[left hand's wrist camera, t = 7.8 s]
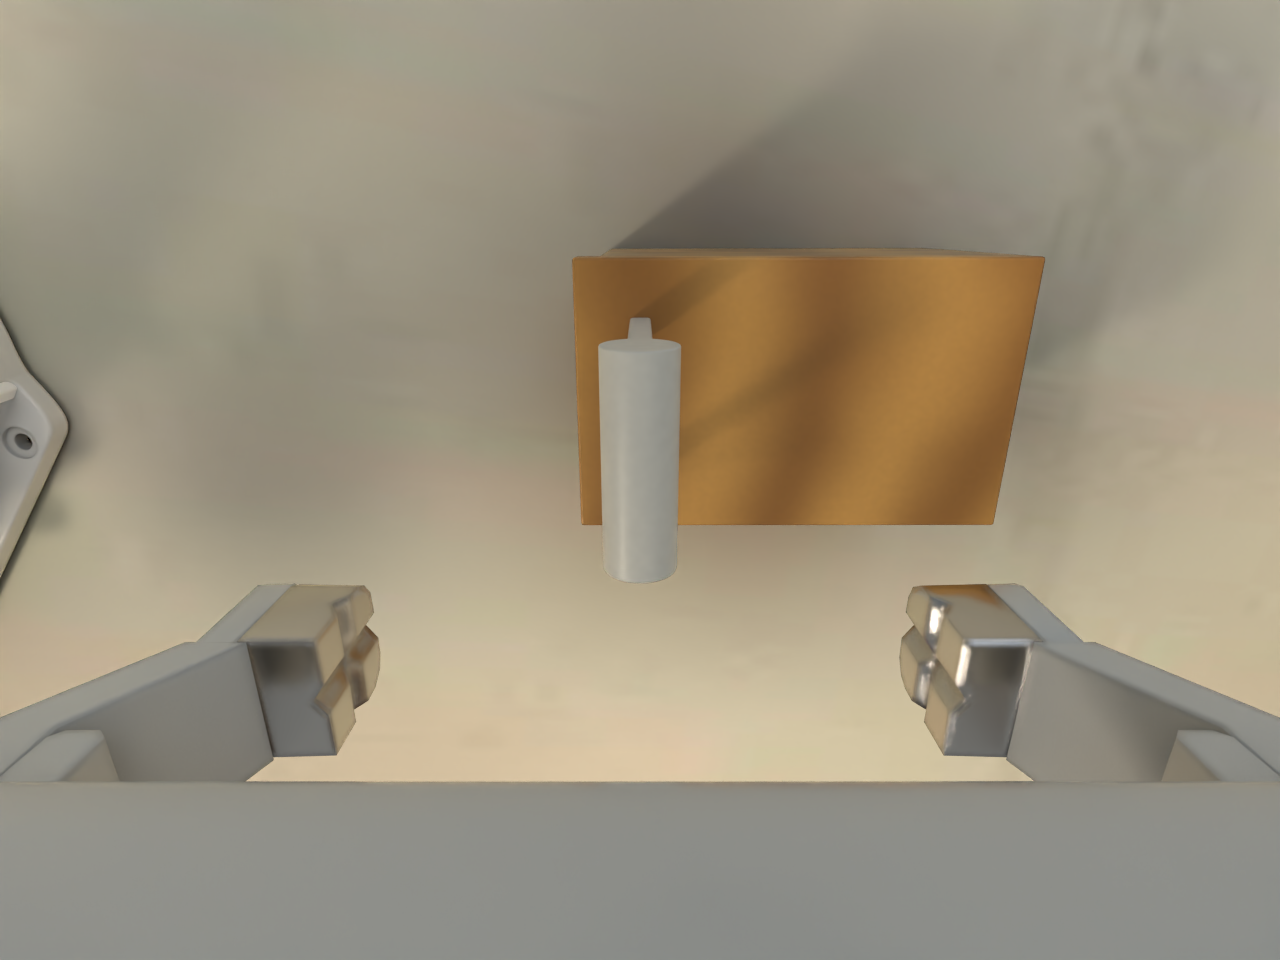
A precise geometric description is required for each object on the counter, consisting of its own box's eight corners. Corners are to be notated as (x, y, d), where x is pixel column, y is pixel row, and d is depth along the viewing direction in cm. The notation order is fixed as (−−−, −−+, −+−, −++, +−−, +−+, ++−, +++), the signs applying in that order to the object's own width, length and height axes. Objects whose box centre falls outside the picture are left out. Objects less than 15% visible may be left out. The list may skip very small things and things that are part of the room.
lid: (583, 513, 27) (557, 641, 18) (574, 256, 23) (538, 271, 15) (979, 513, 27) (1131, 642, 18) (1028, 255, 23) (1240, 270, 15)
